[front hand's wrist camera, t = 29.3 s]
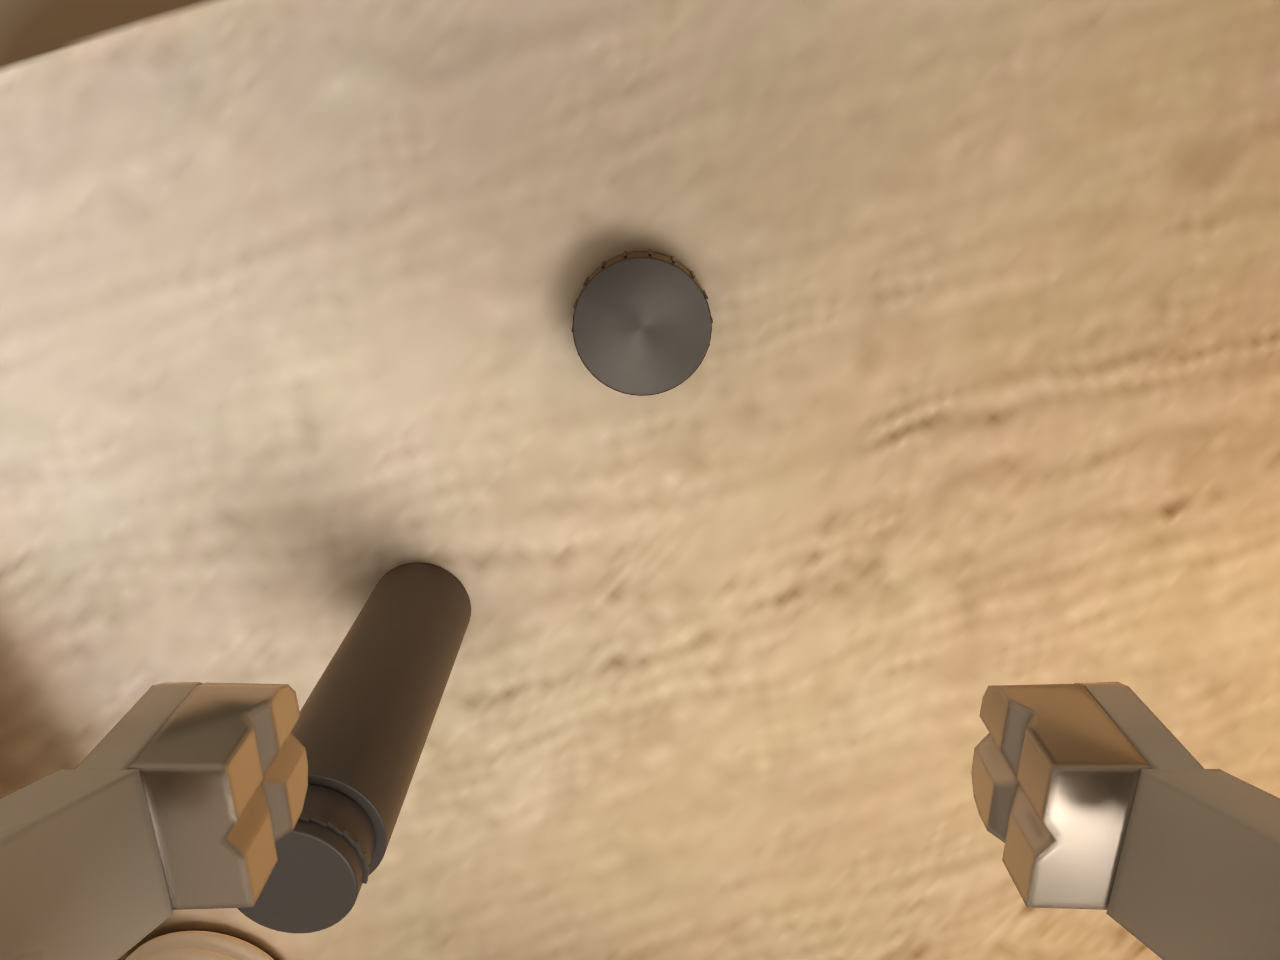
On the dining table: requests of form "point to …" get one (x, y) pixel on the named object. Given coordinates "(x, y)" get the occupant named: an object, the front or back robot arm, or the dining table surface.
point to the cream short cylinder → (197, 948)
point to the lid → (642, 323)
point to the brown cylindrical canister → (364, 745)
